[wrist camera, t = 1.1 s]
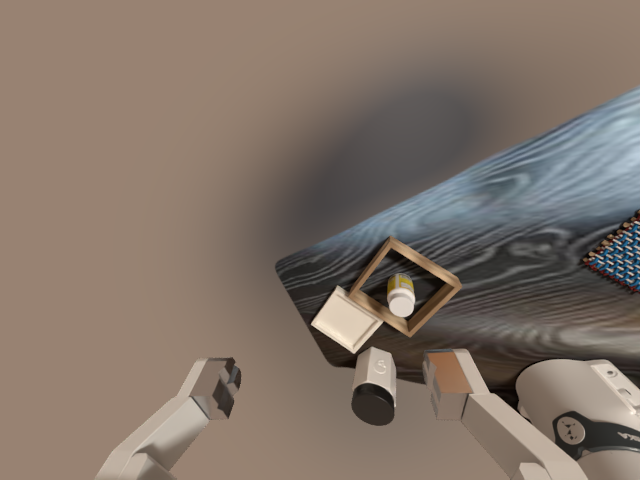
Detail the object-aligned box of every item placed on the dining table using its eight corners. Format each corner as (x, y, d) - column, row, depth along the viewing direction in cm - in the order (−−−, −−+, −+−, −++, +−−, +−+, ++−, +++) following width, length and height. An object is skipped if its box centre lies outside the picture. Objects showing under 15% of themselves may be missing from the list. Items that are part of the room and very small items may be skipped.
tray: (384, 315, 52) (384, 321, 50) (355, 347, 57) (354, 353, 56) (337, 285, 53) (335, 289, 51) (313, 319, 58) (310, 324, 56)
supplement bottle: (390, 294, 50) (389, 320, 42) (385, 274, 49) (383, 297, 41) (415, 291, 48) (418, 317, 41) (410, 270, 47) (412, 293, 40)
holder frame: (457, 277, 45) (462, 286, 42) (409, 326, 51) (409, 337, 48) (390, 235, 46) (389, 241, 43) (350, 288, 52) (347, 297, 49)
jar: (401, 355, 54) (402, 406, 43) (391, 380, 57) (389, 433, 47) (362, 341, 56) (354, 387, 45) (354, 366, 59) (345, 414, 48)
